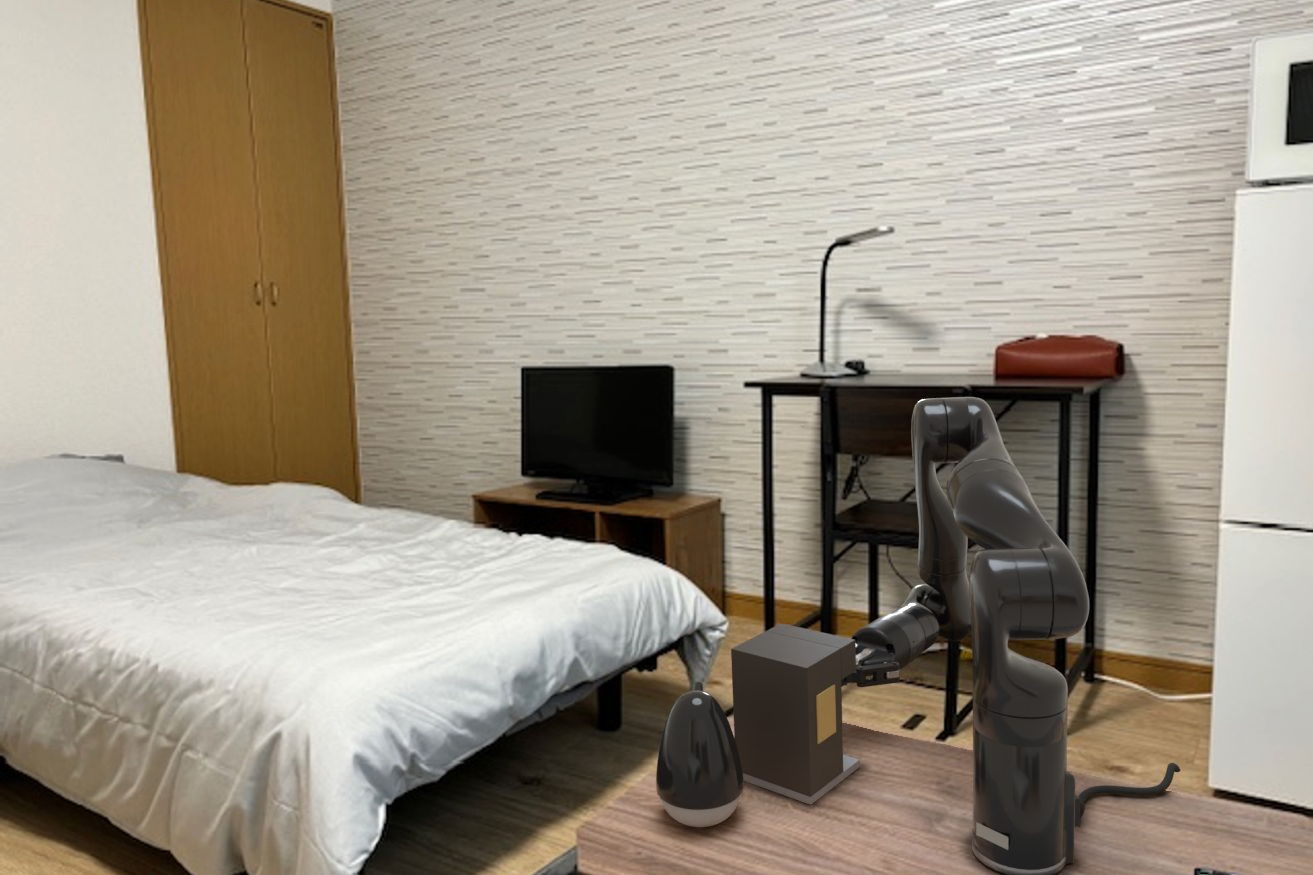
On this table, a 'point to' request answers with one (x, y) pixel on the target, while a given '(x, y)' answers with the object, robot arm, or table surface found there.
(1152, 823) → the table surface
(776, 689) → the box
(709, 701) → the pump dispenser
